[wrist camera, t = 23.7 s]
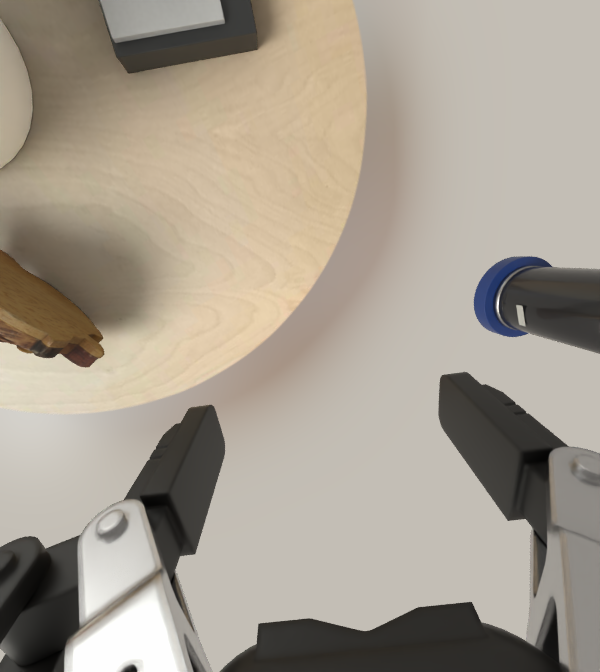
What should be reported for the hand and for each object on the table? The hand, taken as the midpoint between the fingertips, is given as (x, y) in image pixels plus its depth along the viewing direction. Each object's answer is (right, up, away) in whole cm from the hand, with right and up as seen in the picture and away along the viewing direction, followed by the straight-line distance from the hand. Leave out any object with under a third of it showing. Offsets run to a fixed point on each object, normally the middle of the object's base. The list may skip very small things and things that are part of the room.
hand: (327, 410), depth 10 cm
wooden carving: (-29, +7, +23) cm, 37 cm away
